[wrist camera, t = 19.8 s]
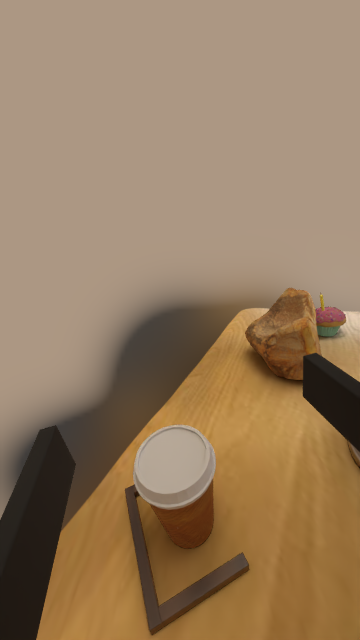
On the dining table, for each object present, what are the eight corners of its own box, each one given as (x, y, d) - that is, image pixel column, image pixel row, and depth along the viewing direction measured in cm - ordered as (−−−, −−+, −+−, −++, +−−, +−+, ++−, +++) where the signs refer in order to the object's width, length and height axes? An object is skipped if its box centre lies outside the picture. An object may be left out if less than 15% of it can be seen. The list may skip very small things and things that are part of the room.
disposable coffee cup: (145, 561, 29) (117, 496, 25) (163, 481, 38) (144, 422, 33) (226, 571, 27) (212, 502, 23) (226, 484, 36) (215, 421, 31)
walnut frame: (193, 459, 40) (192, 455, 40) (249, 569, 27) (248, 564, 26) (126, 493, 37) (124, 488, 37) (151, 635, 24) (149, 630, 23)
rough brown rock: (255, 335, 75) (246, 289, 70) (317, 332, 68) (313, 280, 62) (241, 386, 56) (228, 329, 51) (326, 390, 49) (321, 323, 43)
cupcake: (321, 342, 64) (323, 299, 59) (302, 329, 72) (302, 290, 67) (352, 335, 64) (356, 291, 60) (329, 323, 72) (332, 283, 68)
